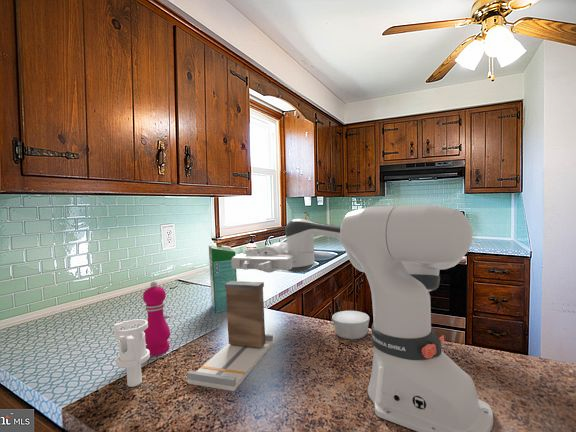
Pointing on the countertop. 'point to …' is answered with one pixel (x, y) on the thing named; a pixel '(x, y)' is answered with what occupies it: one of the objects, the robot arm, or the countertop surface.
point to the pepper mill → (156, 320)
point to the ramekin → (350, 324)
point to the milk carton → (220, 275)
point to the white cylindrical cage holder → (132, 349)
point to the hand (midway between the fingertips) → (252, 267)
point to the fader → (245, 313)
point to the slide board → (229, 366)
